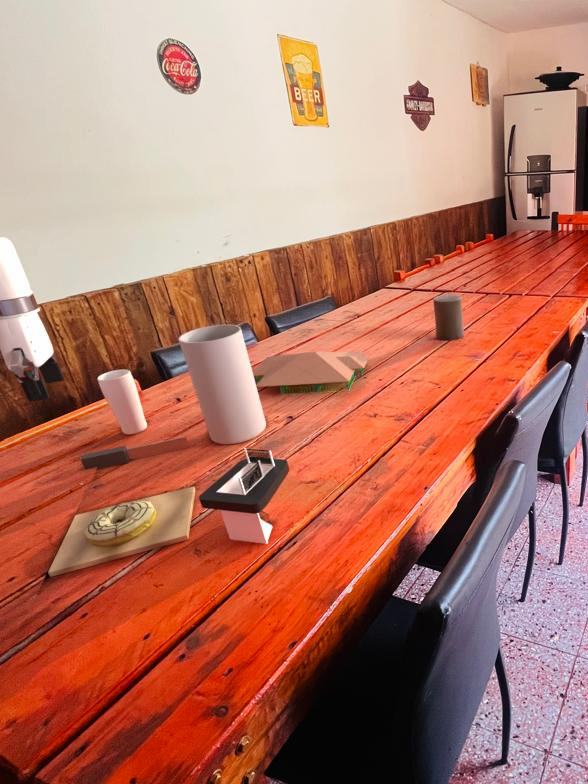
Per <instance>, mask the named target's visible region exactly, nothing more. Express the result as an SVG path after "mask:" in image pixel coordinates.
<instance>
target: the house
mask: <svg viewBox="0 0 588 784" xmlns="http://www.w3.org/2000/svg"><path fill="white" fill-rule="evenodd" d="M364 352H365V351H309V352H300V353H292V354H291V353H289V354H277V355H273V356H267V357H266V358H265V359H264V360H263V361H262V362H261V363H260V364H259V365H258V366H257V367H256V369H254V370H253V371H252V372H253V376H254V380H255V383H256V387H257V388H264V387H279V391H280V395H281V396H282V395H283V396H284V395H286V396H287V395H302V394H305V392H306V391H307V392H309V391H310V392H312V393H314V394H319V393H334V392H335V393H336V392H339V390H337V391H336V390H334V391H333V390H331V391H330V390H328V391H327V389H322V388H327V387H328V388H329V387H331V389H333V387H334V389H336V388H337V389H339V388H338V387H340V389H342V388H343V390H345V389H347V392H349V391H350V389H351V387H352V386H353V383H354V381H355V379H356V377H362V376H363V374H364V372H365V368H366V365H367V363H368V361H369V358H370V355H364V354H365V353H364ZM356 372H359V373H360V375H359V374H357V375H356ZM332 383H333V384H335V383H336V384H337V385H330V386H329V385H326V384H332ZM338 383H339V385H338ZM341 383H342V385H341ZM344 383H346V384H344ZM296 385H297V387H299V386H300V387H301V386H302V385H303V388H293V386H294V387H296ZM298 385H299V386H298ZM304 385H306V386H304ZM310 385H311V386H310ZM290 386H291V387H290ZM307 386H308V387H307ZM346 386H347V387H346ZM341 387H342V388H341ZM344 387H345V388H344ZM311 388H313V389H312V391H311ZM288 389H289V390H288ZM293 389H294V390H295V391H297V390H298V391H300V392H298V393H297V392H295V393H294V392H292V393H291V392H289V393H288V391H291V390H292V391H294V390H293ZM299 389H300V390H299ZM305 389H306V390H305ZM308 389H309V390H308ZM321 389H322V390H321ZM303 390H304V392H303ZM285 391H286V393H285Z"/></svg>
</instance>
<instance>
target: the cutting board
mask: <svg viewBox="0 0 588 784" xmlns="http://www.w3.org/2000/svg"><path fill="white" fill-rule="evenodd" d="M195 496H196V487H195V486H190V487H186V488H182V489H181V488H180V489H178V490H174V491H169V492H165V493H162V494H157V495H153V496H149V497H145V498H141V499H135V500H132V501H131V502H134V501H147V502H151V504H152V505H153V507H154V509H156V517H155V521H154V523H153V525H152V526H151V527H150V528H149V529H148V530H147V531H145V532H143V533H142V534H141V535H140V536H138V537H136V538H135V539H133V540H130V541H128V542H126V543H123V544H120V545H116V546H111V547H99V546H95V545H93V544H92V543H91V542H89V541H88V540H87V538H86V536H85V535H84V532H85V529H86V526H87V524H88V522H89V521H90V520H91V519H92V518H93V517H95V516H97V515H98V514H99V513H101V512H103V511H105V510H107V509H109V508H112V507H114V506H116V505H117V504H115V505H112V506H108V507H103V508H99V509H95V510H92V511H91V510H90V511H87V512H83V513H78V514H75V515H74V517H73V519H72V521H71V524H70V525H69V528H68V530H67V532H66V534H65V536H64V538H63V540H62V543H61V545H60V547H59V548H58V551H57V552H56V555H55V557H54V559H53V561H52V563H51V565H50V567H49V569H48V572H47V574H48V575H49V577H50V578H52V577H55V576H60V575H63V574H67V573H70V572H71V573H72V572H75V571H78V570H82V569H85V568H89V567H92V566H96V565H100V564H103V563H108V562H111V561H114V560H118V559H122V558H125V557H129V556H132V555H137V554H140V553H144V552H147V551H151V550H155V549H159V548H162V547H165V546H166V547H167V546H169V545H170V546H171V545H174V544H177V543H181V542H184V541H188V540H189V539H190V538H189V537H190V530H191V524H192V517H193V511H194V505H195Z"/></svg>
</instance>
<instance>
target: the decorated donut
mask: <svg viewBox="0 0 588 784" xmlns="http://www.w3.org/2000/svg"><path fill="white" fill-rule="evenodd" d="M133 501H134V502H132V501H128V502H122V503H119V504H115V505H116V506H115V505H113V506H114V507H112V508H109V509H107V510H105V511H103V512H101V513H99V514H98V515H97V516H95V517H93V518H92V519H91V520H90V521H89V522H88V524H87V526H86V529H85V532H84V535H85V536H86V538H87V540H88V541H89V542H91V543H92V544H93V545H95V546H99V547H111V546H116V545H120V544H123V543H126V542H128V541H130V540H133V539H135V538H136V537H138V536H140V535H141V534H142V533H143V532H145V531H147V530H148V529H149V528H150V527H151V526H152V525H153V523H154V521H155V517H156V509H154V507H153V505H152V504H151V502H147V501H136V500H133Z"/></svg>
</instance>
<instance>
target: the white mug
mask: <svg viewBox="0 0 588 784" xmlns="http://www.w3.org/2000/svg"><path fill="white" fill-rule="evenodd" d="M96 379H97V382H98V385H99V388H100V390H101V393H102V395H103V397H104V399H105V401H106V403H107V405H108V407H109V408H110V410H111V412H112V414H113V416H114V417H115V419H116V421H117V423H118V425H119V427H120V430H121V432H122V433H123V434H124V435H127V436H128V435H136V434H139V433H141V432H143V431H145V430H146V429H147V428H148V423H147V420H146V417H145V414H144V410H143V405H142V403H141V398H140V394H139V391H138V388H137V385H136V382H135V378H134V377H133V375H132V373H131V370H129V369H115V370H111V371H108V372H105V373H102V374H100V375H99V376H98V377H97V378H96Z"/></svg>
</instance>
